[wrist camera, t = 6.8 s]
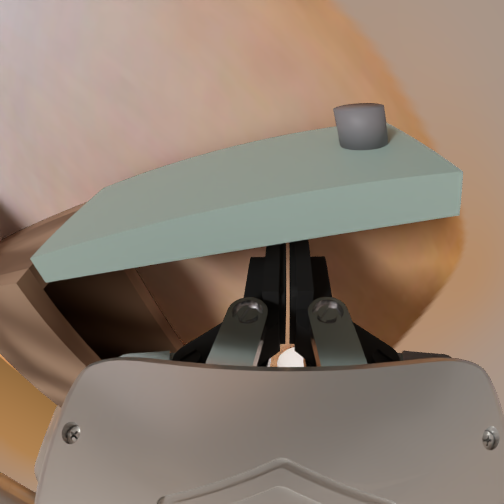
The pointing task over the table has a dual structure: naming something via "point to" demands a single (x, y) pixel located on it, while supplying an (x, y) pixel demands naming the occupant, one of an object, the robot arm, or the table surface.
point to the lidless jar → (290, 359)
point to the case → (71, 315)
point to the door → (258, 197)
